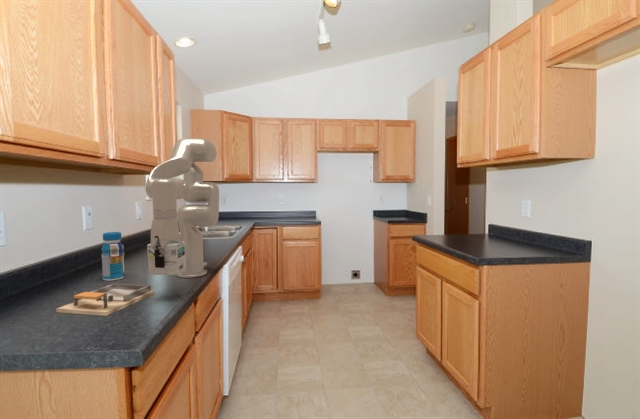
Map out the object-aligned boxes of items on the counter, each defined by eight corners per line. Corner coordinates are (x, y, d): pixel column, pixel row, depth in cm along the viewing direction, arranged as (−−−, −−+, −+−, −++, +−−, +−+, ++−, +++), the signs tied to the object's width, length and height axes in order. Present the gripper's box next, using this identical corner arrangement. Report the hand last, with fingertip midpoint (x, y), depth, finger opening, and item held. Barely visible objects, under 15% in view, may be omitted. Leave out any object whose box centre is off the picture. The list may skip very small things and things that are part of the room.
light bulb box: (186, 269, 120) (185, 240, 119) (179, 275, 114) (178, 244, 113) (156, 270, 120) (155, 240, 119) (147, 275, 113) (146, 244, 112)
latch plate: (85, 294, 108) (84, 291, 107) (106, 295, 106) (106, 293, 106) (73, 298, 104) (73, 295, 104) (95, 299, 102) (95, 297, 102)
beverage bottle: (97, 281, 139) (95, 234, 138) (109, 276, 147) (107, 231, 146) (118, 281, 139) (116, 234, 138) (129, 275, 147) (127, 231, 146)
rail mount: (112, 291, 125) (111, 276, 125) (154, 293, 122) (154, 278, 121) (56, 312, 103) (55, 294, 103) (106, 316, 100) (105, 297, 100)
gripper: (171, 212, 124) (173, 258, 126) (137, 217, 107) (140, 270, 109) (189, 212, 123) (191, 258, 124) (158, 218, 106) (161, 271, 107)
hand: (167, 264), depth 117 cm, fingers closed on light bulb box, 7 cm apart
